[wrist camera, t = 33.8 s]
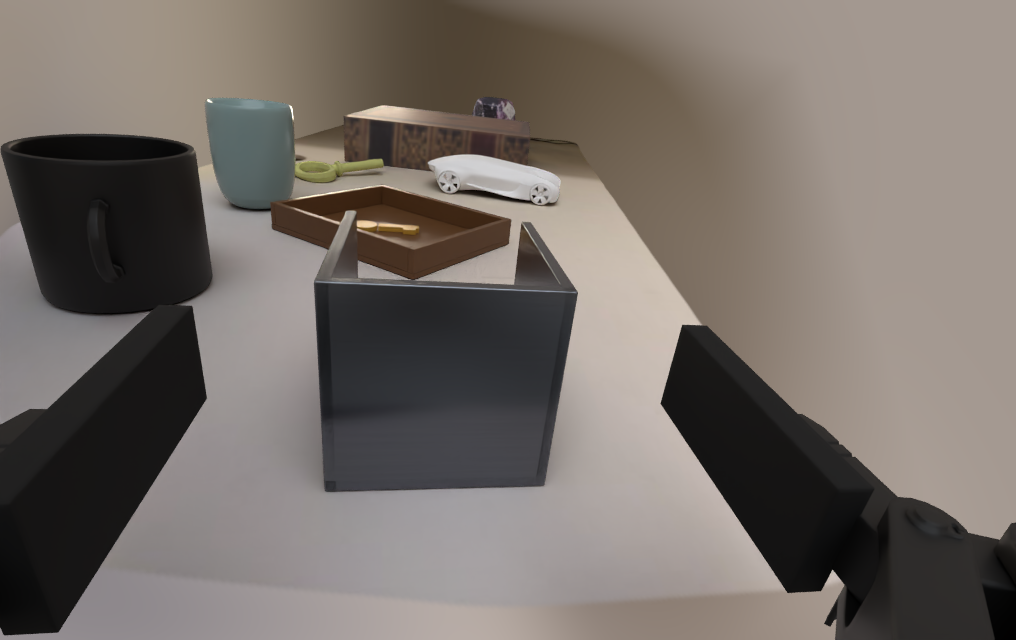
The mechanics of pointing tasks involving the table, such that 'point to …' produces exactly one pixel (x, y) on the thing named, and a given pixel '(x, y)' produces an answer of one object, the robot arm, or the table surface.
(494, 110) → the mineral specimen
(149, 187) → the mug
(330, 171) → the key
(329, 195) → the tray
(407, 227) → the brass key
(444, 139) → the book
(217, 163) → the cup
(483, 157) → the toy car
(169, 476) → the table surface
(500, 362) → the grey open-sided box
